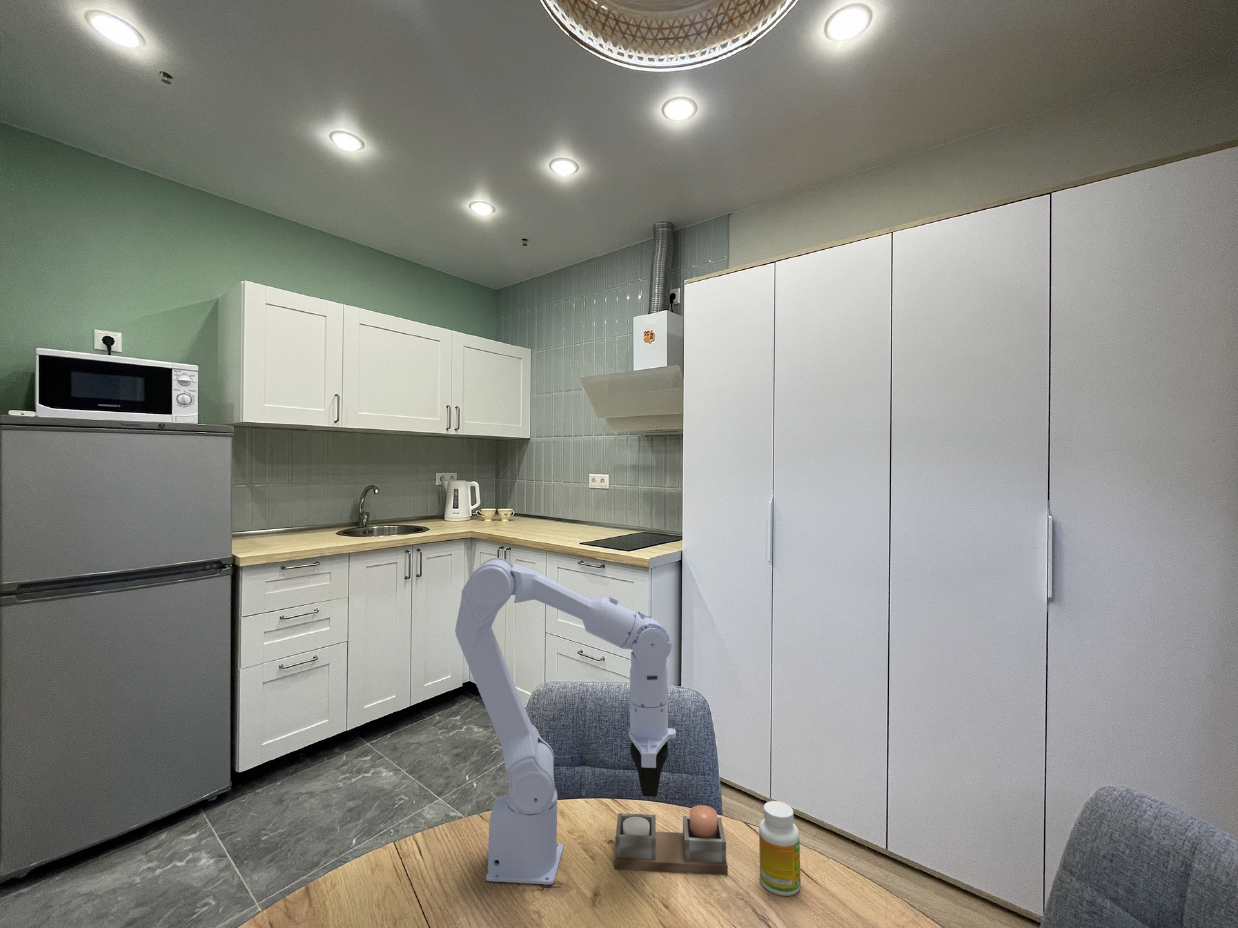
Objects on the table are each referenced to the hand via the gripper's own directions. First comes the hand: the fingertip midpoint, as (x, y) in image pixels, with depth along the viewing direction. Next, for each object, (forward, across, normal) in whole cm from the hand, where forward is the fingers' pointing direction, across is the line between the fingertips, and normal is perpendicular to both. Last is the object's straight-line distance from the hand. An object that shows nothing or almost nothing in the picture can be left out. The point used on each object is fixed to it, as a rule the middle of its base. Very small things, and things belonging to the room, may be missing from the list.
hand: (649, 794), depth 78 cm
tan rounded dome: (+5, 0, -8) cm, 9 cm away
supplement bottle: (+9, -5, -18) cm, 21 cm away
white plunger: (+7, 0, +2) cm, 7 cm away
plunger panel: (+8, 0, -3) cm, 9 cm away
